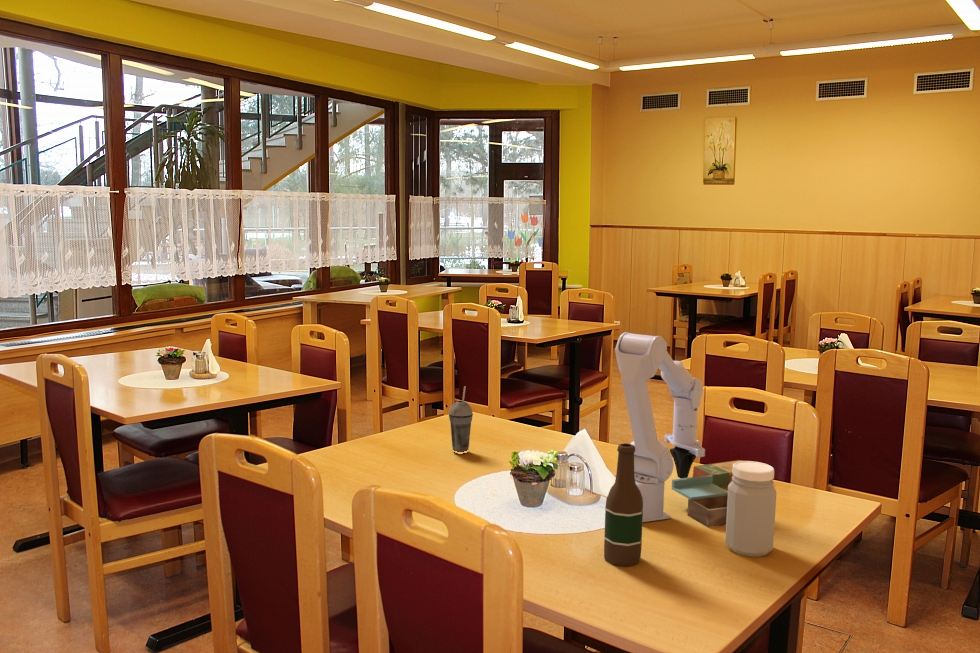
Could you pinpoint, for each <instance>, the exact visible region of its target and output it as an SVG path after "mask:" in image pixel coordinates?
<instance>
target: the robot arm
mask: <svg viewBox="0 0 980 653" xmlns="http://www.w3.org/2000/svg"><path fill="white" fill-rule="evenodd" d="M667 349H668V344H667V341H665V339H664V337H663V336H661V335H649V334H639V333H631V332H628V331H627V332H626V331H625V332H622V333H621V334H620V335H619V337H618V340H617V343H616V345H615V348H614V352H615V359H616V362H617V366H618V371H619V373H620V375H621V377H620V378H621V384H622V389H623V393H624V399H625V403H626V407H627V413H628V418H629V422H630V428H631V433H632V438H633V441H631V442H630V443H629V444H632V445H634V446H635V449H636V450H635V452H634V473H635V483H636V485H637V487H638V488H639V490H640V492H641V495H642V498H643V521H642V523H648V522H653V521H661V520H663V521H664V520H669V519H671V518H672V516H671V515H670V514H668V513H667V512H664V506H665V502H664V501H665V482H666V481H667V480H669V478H670V477H671V476H672V474H673V470H674V466H675V470H676V475H677V477H678V479H682V478H689V474H690V471H691V469H692V465H693V462H694V461H695V459H696V458H703V457H705V456H706V449H705V448H704V447H702V446H701V445H700V441H701V440H698V439H697V431H698V430H697V428H698V409H699V408H700V405H701V399H702V397H703V394H704V393H703V392H704V387H703V383H702V381H701V380H700V379H699V378H698V377H693V375H692V374H691V373H690V372H689V370H687V369H686V367H685V366H684V365H683V362H682V361H681V360H674V359H673V358H672V357H671V355H670V354H669V352H668V350H667ZM658 369H659V370H660V377H661V379H662V380H663V381H664V382H665V384H667V386H668V389H669V394H670V397H672V398H673V400H674V401H673V418H672V419H673V420H672V421H673V422H672V423H673V425H672V433H669V434H668V433H667V434H664V443H667V444H671V445H673V446H674V448H670V449H669V448H668V446H666V444H664V443H663V442H662V441H661V440H660V439H659V438H658V436H657V435H658V434H657V430H656V424H655V418H654V415H653V414H654V413H653V409H652V404H651V398H650V393H649V388H648V383H647V382H648V381H647V380H649V379H651V378H654V377H655V376H656V373H657V371H659V370H658Z"/></svg>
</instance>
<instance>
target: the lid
mask: <svg viewBox="0 0 980 653" xmlns="http://www.w3.org/2000/svg"><path fill="white" fill-rule="evenodd" d="M712 481H713V476H711V475H708V476H699V477H693V476H692V477H687V478H673V479H671V490H673V491H674V492H675V493H678V494H680V495H681V496H682V497H685V498H687V500H688V499H690V500H694V499H702V498H710V497H718V496H726V495H728V490H726V489H724V488H723V487H718V486H716V485H714V484H712Z"/></svg>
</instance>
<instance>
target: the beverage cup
mask: <svg viewBox="0 0 980 653" xmlns="http://www.w3.org/2000/svg"><path fill="white" fill-rule="evenodd" d="M466 387H467V386H465V385H464V386H463V392H462V400H457V401H455V402H453V404H452V405H451V406H450V407H449V411H448V419H449V423H450V434H451V445H452V447H451V448H452V451H453V450H454V451H457V452H464V451H467V450H468V451H469V448H470V440H471V439H470V437H471V430H472V429H471V427H472V420H473V416H474V413H473V408H472V407H471V405H470V404H469V403H468V402H466V401H465V394H466Z"/></svg>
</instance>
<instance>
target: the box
mask: <svg viewBox="0 0 980 653" xmlns="http://www.w3.org/2000/svg"><path fill="white" fill-rule="evenodd" d="M727 500H728V495H726V496H718V497H710V498H702V499H694V500H690V499H688V498H687V516H688V517H689V518H692V519H693V520H695V521H696V522H698V523H699V524H701V525H703V526H704V527H707V528H714V527H720V526H726V519H727Z"/></svg>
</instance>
